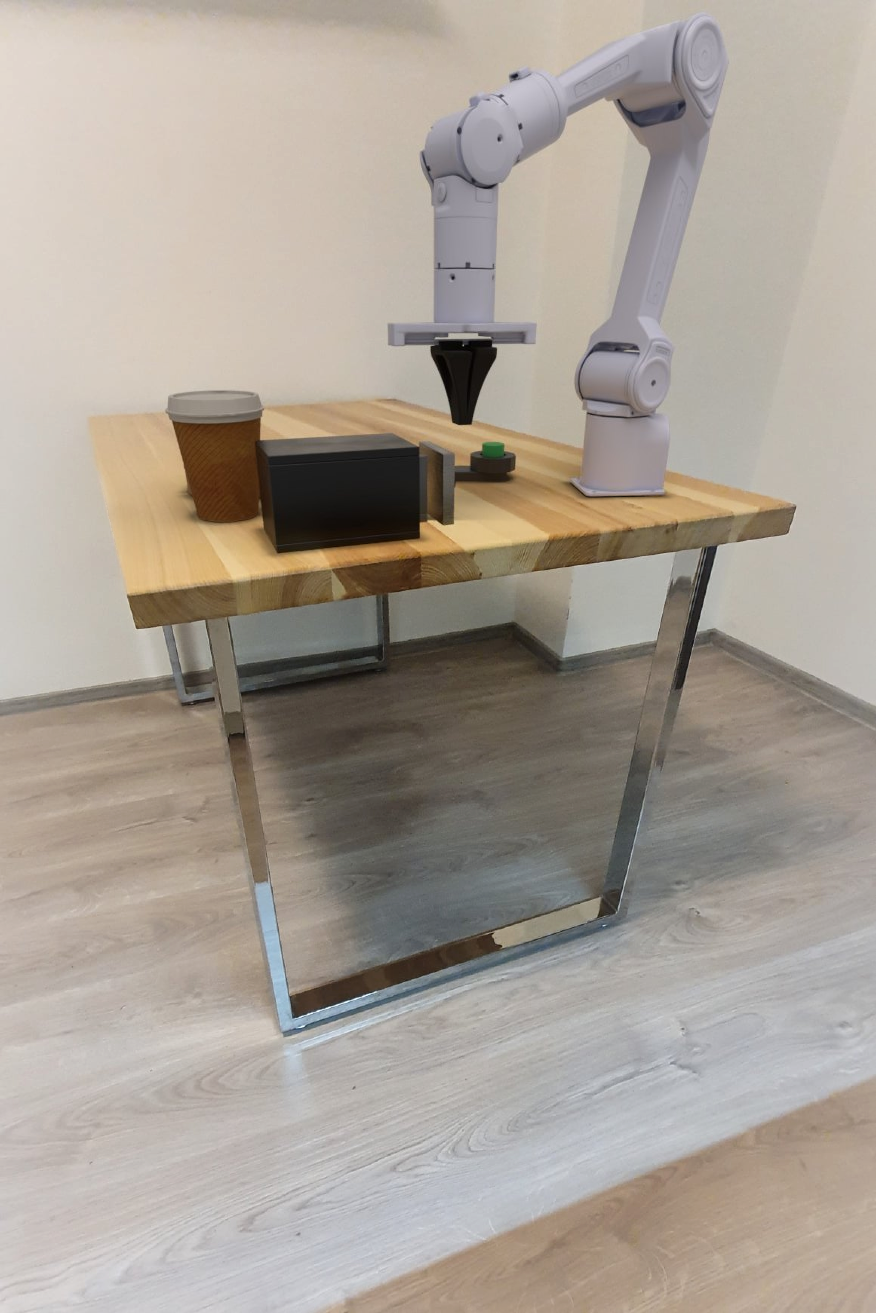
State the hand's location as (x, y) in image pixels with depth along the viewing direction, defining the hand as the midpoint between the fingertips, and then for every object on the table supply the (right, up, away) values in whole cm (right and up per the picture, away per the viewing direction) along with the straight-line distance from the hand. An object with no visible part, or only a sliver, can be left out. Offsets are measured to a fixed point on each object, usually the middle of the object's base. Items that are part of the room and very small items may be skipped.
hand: (461, 423), depth 73 cm
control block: (+2, 0, +21) cm, 21 cm away
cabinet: (-12, -11, -2) cm, 17 cm away
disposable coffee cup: (-25, -8, +4) cm, 26 cm away
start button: (+5, +2, +20) cm, 20 cm away
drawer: (-7, -10, -1) cm, 12 cm away
